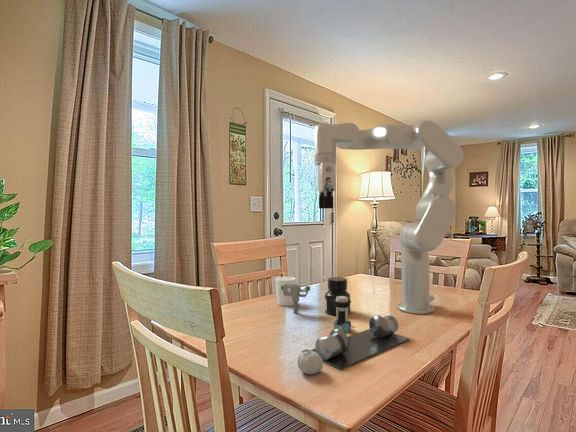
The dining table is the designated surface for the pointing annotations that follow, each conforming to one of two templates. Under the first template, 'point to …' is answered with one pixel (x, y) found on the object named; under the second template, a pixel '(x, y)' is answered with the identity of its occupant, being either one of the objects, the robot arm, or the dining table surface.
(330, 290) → the ink bottle
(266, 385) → the dining table surface
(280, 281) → the white cup
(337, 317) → the push button
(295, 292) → the mechanical component
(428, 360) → the dining table surface
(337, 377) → the dining table surface
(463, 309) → the dining table surface
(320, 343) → the plate with silver knobs
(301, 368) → the garlic
